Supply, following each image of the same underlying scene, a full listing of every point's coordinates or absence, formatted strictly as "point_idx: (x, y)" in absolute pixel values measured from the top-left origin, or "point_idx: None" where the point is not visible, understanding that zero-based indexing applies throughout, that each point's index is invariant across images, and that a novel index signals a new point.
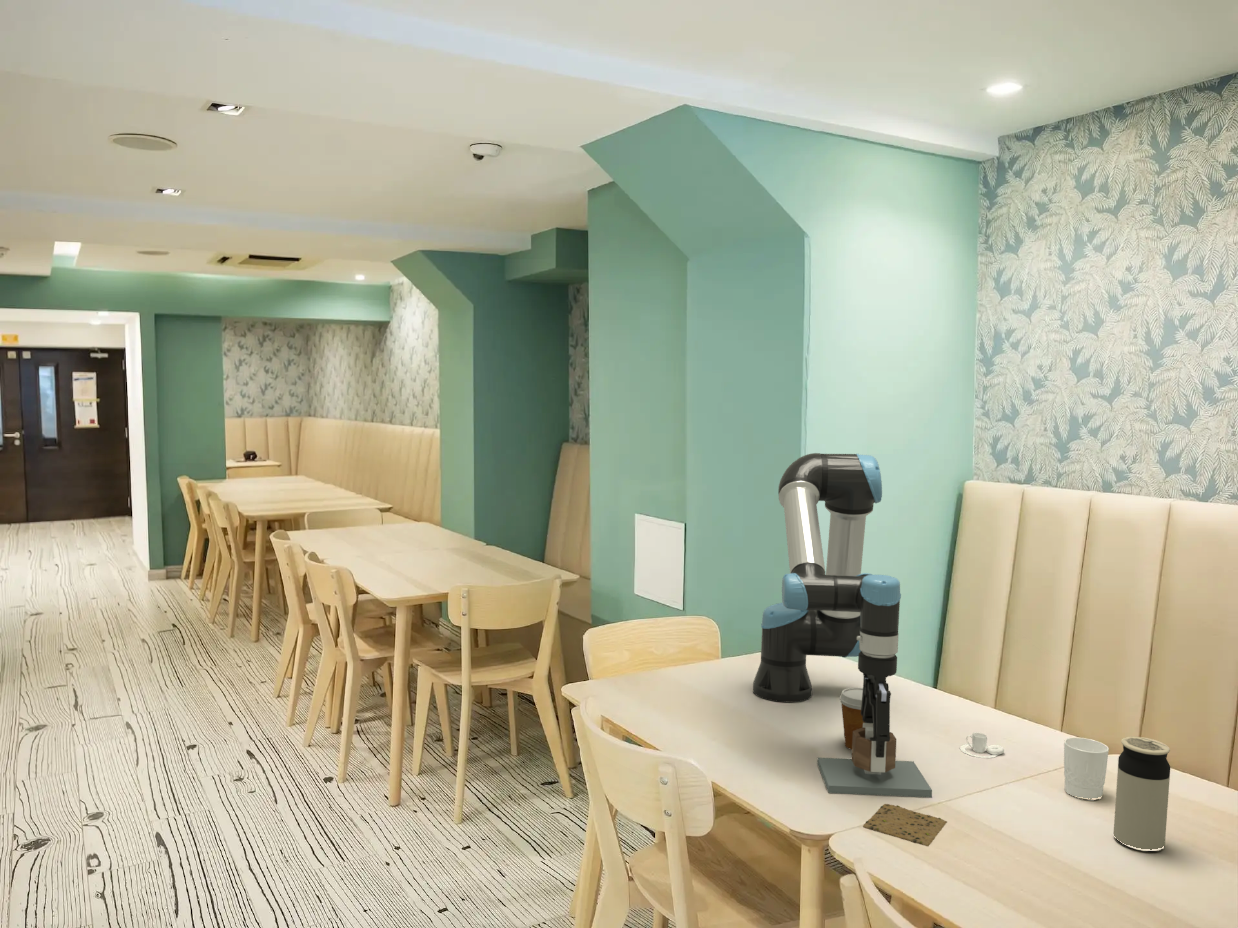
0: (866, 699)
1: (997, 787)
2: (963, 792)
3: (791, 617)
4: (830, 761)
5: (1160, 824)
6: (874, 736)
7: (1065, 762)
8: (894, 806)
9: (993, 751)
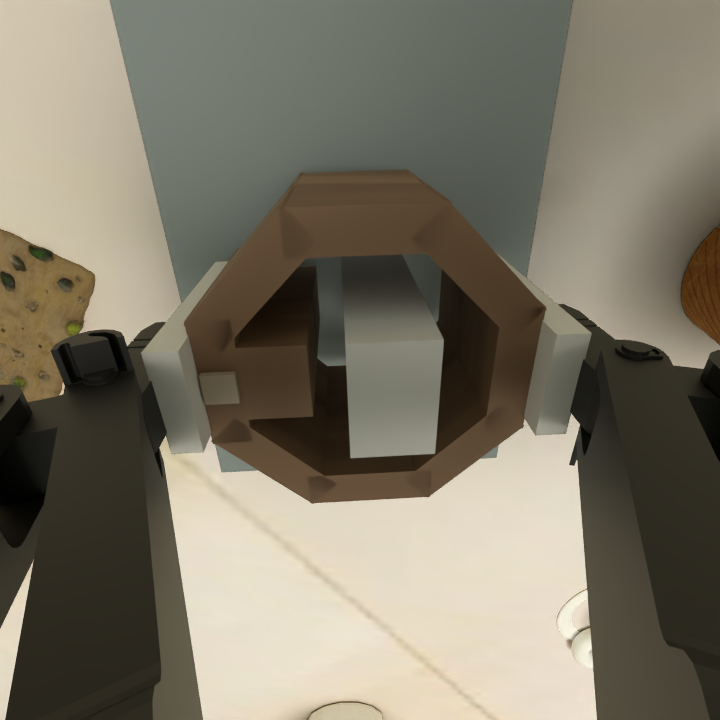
0: (695, 587)
1: (351, 608)
2: (296, 537)
3: None
4: (508, 36)
5: None
6: (81, 386)
7: None
8: (62, 311)
9: (579, 644)
